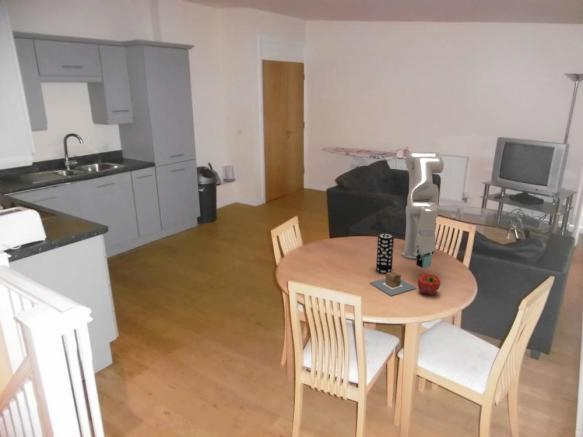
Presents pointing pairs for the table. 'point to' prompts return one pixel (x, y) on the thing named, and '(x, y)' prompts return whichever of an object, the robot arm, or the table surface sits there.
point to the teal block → (426, 260)
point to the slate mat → (392, 291)
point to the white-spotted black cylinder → (384, 253)
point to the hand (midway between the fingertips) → (423, 264)
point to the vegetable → (428, 283)
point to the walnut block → (393, 279)
